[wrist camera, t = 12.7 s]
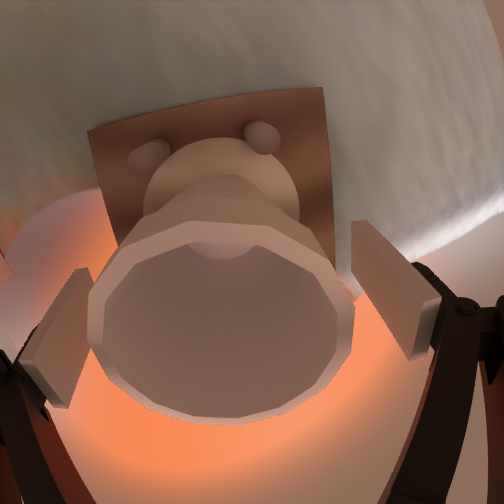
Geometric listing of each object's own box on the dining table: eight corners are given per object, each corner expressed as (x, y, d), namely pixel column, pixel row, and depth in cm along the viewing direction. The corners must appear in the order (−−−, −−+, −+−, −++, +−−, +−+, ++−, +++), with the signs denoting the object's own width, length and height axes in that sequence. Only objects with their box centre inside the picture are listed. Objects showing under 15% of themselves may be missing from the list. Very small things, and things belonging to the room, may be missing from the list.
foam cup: (219, 120, 19) (209, 146, 8) (315, 213, 22) (399, 333, 11) (129, 222, 22) (50, 349, 10) (224, 297, 25) (228, 445, 13)
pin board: (94, 129, 20) (52, 141, 14) (316, 87, 20) (350, 83, 14) (149, 312, 27) (135, 364, 21) (330, 282, 27) (355, 330, 21)
